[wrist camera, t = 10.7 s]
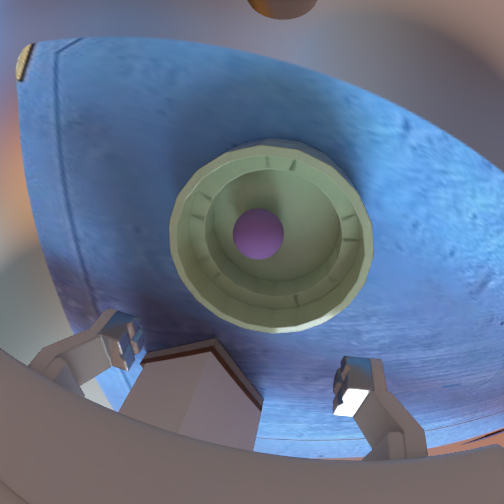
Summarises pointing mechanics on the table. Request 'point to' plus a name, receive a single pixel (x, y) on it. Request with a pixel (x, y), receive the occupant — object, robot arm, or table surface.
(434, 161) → the table surface
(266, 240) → the ball
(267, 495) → the robot arm
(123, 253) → the table surface
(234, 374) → the brown-rimmed upright block
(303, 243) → the bowl
